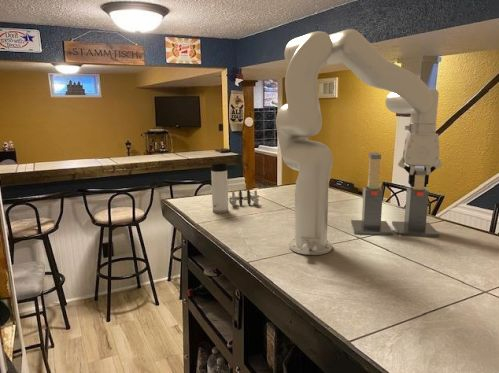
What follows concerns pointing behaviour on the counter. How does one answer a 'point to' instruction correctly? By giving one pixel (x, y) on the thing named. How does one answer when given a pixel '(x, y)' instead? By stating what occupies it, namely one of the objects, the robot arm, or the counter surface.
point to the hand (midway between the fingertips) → (417, 185)
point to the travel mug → (219, 187)
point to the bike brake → (249, 197)
